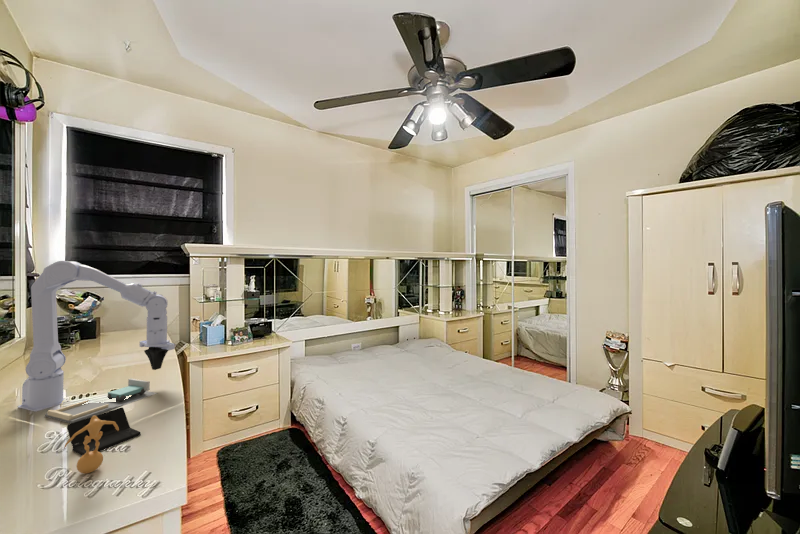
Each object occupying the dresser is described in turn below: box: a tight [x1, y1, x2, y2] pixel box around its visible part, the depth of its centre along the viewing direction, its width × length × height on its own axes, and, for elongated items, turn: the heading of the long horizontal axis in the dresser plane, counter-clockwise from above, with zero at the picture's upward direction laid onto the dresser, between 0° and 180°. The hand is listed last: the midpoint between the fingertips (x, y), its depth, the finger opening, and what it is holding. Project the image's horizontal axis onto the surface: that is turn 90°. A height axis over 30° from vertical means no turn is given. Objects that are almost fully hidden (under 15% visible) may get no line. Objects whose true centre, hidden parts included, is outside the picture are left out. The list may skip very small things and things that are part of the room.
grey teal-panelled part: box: [106, 378, 151, 402], centre depth 104 cm, size 9×8×4 cm
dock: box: [44, 390, 158, 424], centre depth 99 cm, size 12×22×2 cm, turn 161°
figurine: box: [64, 415, 119, 474], centre depth 66 cm, size 8×6×12 cm
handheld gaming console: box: [66, 407, 141, 457], centre depth 79 cm, size 12×7×10 cm
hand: (156, 368), depth 113 cm, fingers closed
